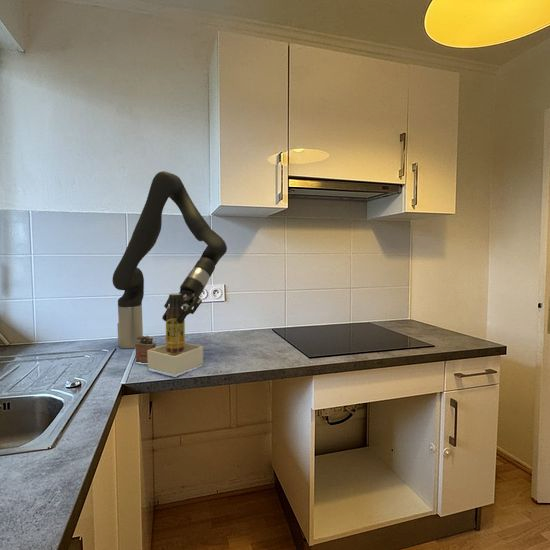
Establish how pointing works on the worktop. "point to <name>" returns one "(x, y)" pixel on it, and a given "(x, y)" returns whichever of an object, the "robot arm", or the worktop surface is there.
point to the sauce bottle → (174, 325)
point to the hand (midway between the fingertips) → (171, 321)
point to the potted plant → (143, 348)
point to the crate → (175, 359)
